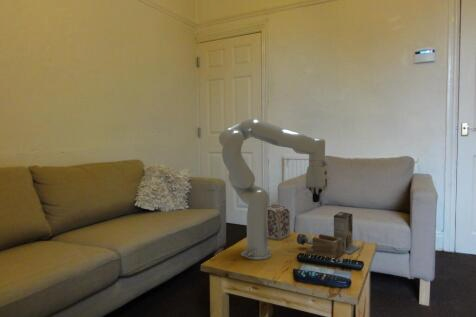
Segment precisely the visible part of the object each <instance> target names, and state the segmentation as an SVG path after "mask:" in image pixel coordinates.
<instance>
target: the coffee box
mask: <svg viewBox="0 0 476 317" xmlns="http://www.w3.org/2000/svg"><path fill="white" fill-rule="evenodd" d="M353 220H354V219H353V213H349V212H345V211H344V212H343V211H340V212H338V213H337V214H334V215H333V237H338V238H343V250H344V251H347V250H348V249H349V248H350V247H351V246H352V245H353V228H354V227H353V224H354V223H353Z"/></svg>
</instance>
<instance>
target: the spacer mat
mask: <svg viewBox="0 0 476 317" xmlns="http://www.w3.org/2000/svg"><path fill="white" fill-rule="evenodd" d="M359 249H361V246H359V245H354V244H352V246H351V247H350V248H349V249H348V250H347V251H344V250H343V254H346V255H352V254H354V253H355V252H356V251H358V250H359Z"/></svg>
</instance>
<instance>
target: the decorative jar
mask: <svg viewBox="0 0 476 317" xmlns="http://www.w3.org/2000/svg"><path fill="white" fill-rule="evenodd" d="M290 215H291V214H290V211H289V209H288V208H287V207H286V206H283V205H281V203H278V202H277V203H276V202H275V203H274V202H273V203H271V205H269V206H268V239H270V240H275V241H282V240H283V239H285V238H288V237H290V236H291V216H290Z"/></svg>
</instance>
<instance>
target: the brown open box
mask: <svg viewBox="0 0 476 317" xmlns="http://www.w3.org/2000/svg"><path fill="white" fill-rule="evenodd" d="M312 238H313V245H311V246H310V247H309V248H307V249H306V250H305V254H307V255H311V254H313V255H312V256H315V255H318V256H317V257H319V256H326V257H331V258H336V259H338V258H340V256H342V255H344V253H343V238H338V237H334V235H328V234H321V233H320V234H319V235H318V237H312Z"/></svg>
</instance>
